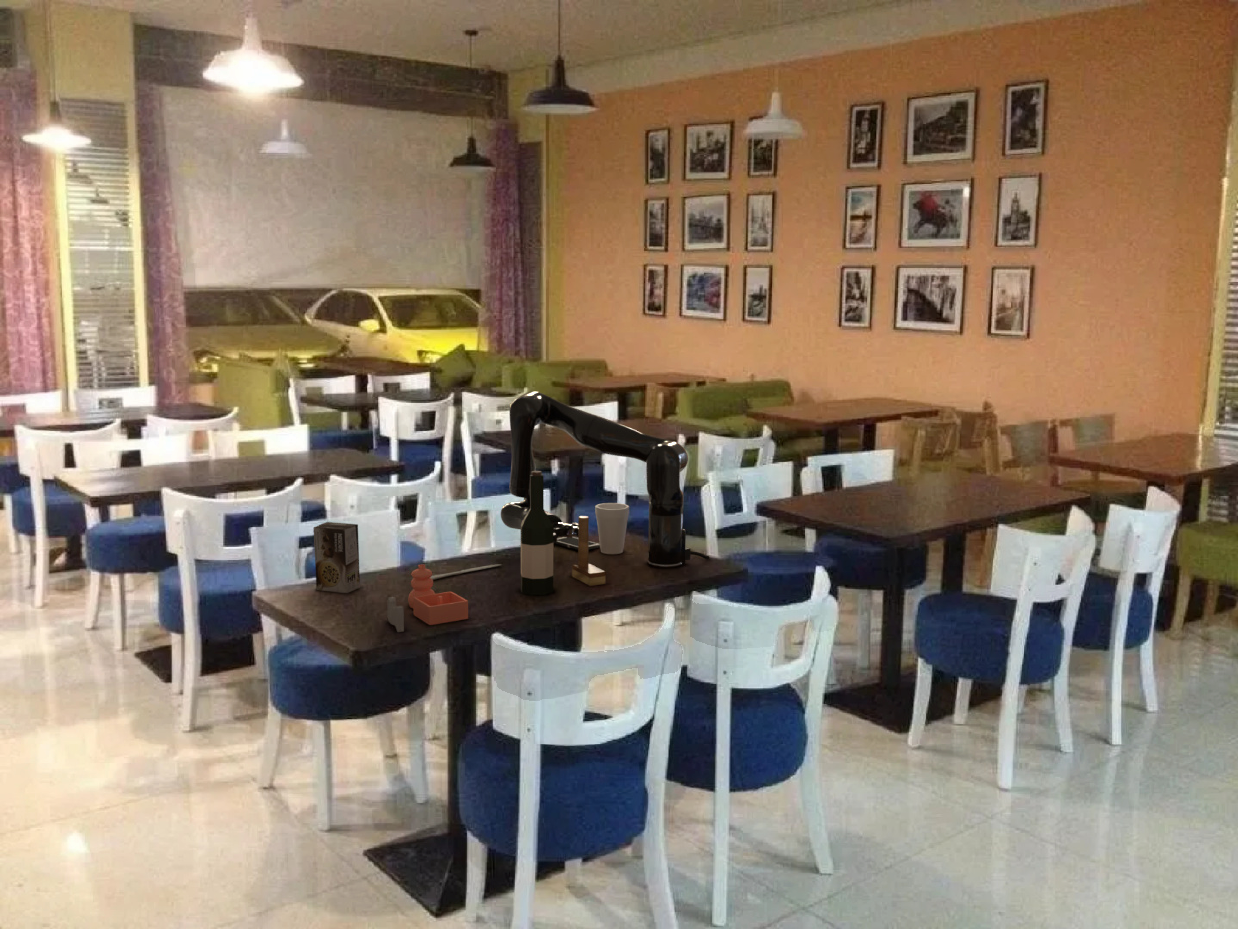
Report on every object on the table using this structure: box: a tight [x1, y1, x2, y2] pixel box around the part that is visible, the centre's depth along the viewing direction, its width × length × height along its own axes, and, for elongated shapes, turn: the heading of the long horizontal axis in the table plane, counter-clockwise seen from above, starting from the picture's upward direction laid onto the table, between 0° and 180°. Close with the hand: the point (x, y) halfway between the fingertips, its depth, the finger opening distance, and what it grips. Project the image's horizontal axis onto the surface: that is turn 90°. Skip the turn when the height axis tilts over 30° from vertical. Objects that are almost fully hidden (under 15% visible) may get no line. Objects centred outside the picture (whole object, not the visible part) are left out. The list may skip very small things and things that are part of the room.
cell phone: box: [554, 536, 600, 551], centre depth 334 cm, size 8×15×1 cm, turn 43°
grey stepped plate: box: [386, 596, 405, 633], centre depth 258 cm, size 6×1×10 cm
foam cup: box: [594, 502, 630, 555], centre depth 326 cm, size 10×9×13 cm
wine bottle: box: [520, 470, 554, 596], centre depth 284 cm, size 8×8×30 cm
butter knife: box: [430, 564, 501, 581], centre depth 303 cm, size 1×24×3 cm
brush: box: [571, 515, 606, 587], centre depth 296 cm, size 10×4×16 cm, turn 29°
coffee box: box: [312, 521, 361, 594], centre depth 285 cm, size 9×6×16 cm
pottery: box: [407, 564, 469, 626], centre depth 268 cm, size 18×10×10 cm, turn 33°
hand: (570, 537), depth 305 cm, fingers open, 8 cm apart
